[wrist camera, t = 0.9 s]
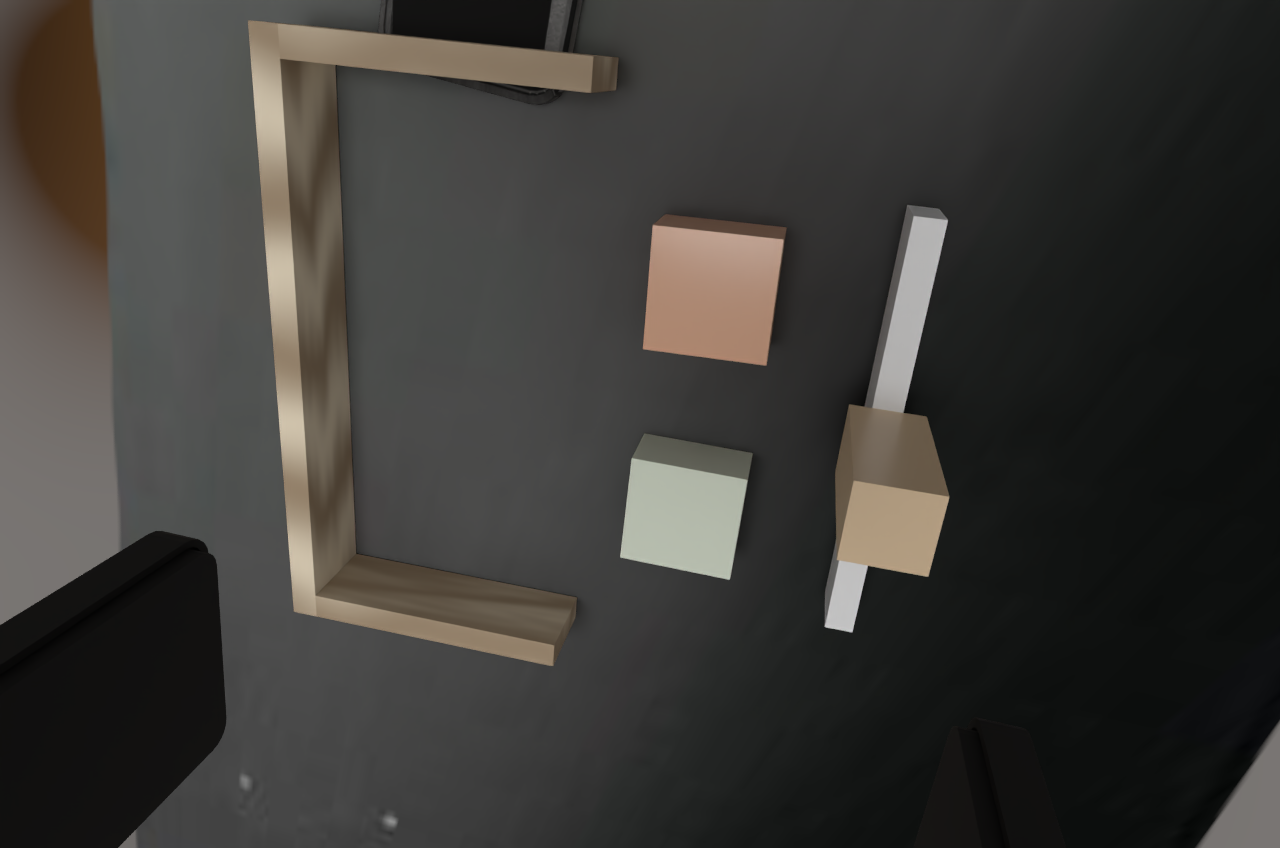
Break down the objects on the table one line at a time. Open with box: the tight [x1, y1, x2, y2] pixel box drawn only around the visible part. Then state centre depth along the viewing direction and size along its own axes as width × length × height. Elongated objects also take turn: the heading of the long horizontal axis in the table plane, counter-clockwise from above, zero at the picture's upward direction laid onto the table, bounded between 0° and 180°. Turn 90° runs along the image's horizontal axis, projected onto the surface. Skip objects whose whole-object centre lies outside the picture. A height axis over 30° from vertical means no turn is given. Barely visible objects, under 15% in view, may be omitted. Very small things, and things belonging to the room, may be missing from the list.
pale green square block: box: [620, 433, 753, 580], centre depth 39 cm, size 5×5×3 cm
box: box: [248, 20, 619, 666], centre depth 38 cm, size 26×13×4 cm, turn 174°
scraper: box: [825, 205, 949, 632], centre depth 33 cm, size 18×3×10 cm, turn 174°
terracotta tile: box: [643, 214, 787, 366], centre depth 35 cm, size 5×5×3 cm
